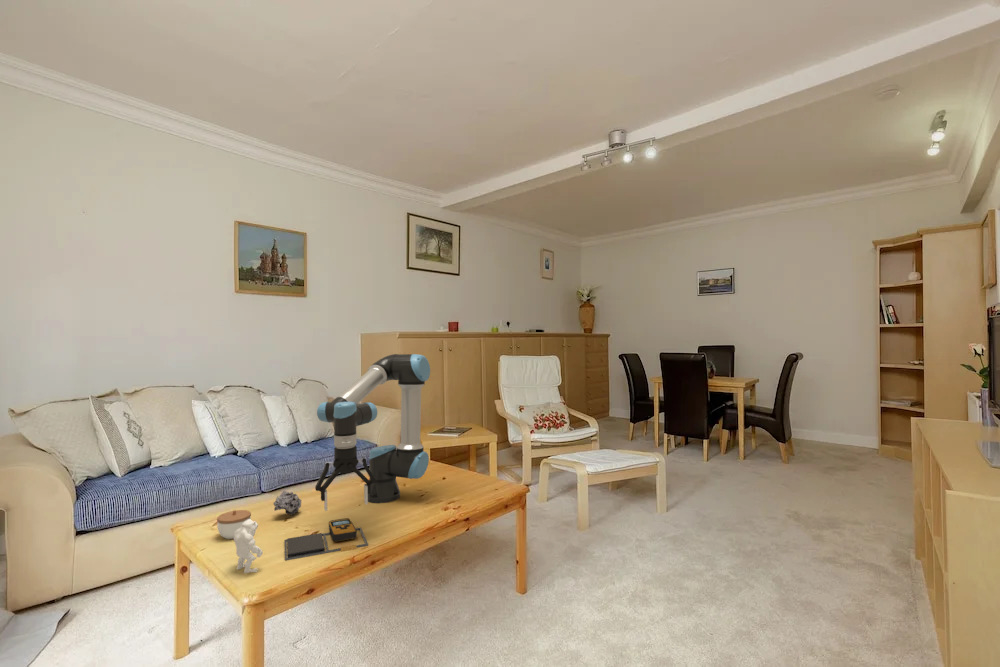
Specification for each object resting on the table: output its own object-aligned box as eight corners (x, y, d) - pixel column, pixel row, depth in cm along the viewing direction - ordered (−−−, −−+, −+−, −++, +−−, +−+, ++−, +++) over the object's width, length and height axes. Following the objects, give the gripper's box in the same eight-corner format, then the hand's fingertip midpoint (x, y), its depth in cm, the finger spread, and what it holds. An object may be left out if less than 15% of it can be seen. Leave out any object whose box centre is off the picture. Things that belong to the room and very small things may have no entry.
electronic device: (332, 543, 164) (332, 533, 164) (327, 529, 178) (327, 520, 178) (357, 539, 168) (357, 529, 168) (350, 525, 182) (350, 516, 182)
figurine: (227, 570, 147) (227, 521, 148) (248, 561, 153) (248, 514, 153) (245, 579, 141) (245, 529, 141) (266, 570, 147) (267, 521, 147)
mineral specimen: (296, 509, 199) (296, 486, 200) (308, 514, 194) (308, 490, 194) (267, 518, 190) (267, 493, 190) (278, 524, 184) (278, 498, 184)
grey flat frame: (284, 543, 167) (284, 537, 167) (360, 530, 178) (360, 525, 178) (284, 563, 151) (284, 557, 151) (368, 548, 162) (368, 542, 162)
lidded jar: (227, 545, 165) (227, 518, 165) (210, 538, 171) (211, 512, 171) (256, 534, 174) (257, 508, 174) (240, 528, 180) (240, 503, 180)
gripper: (308, 452, 159) (308, 516, 160) (383, 444, 170) (384, 503, 170) (306, 447, 166) (307, 508, 166) (379, 440, 177) (380, 497, 177)
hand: (346, 506), depth 168 cm, fingers open, 13 cm apart
